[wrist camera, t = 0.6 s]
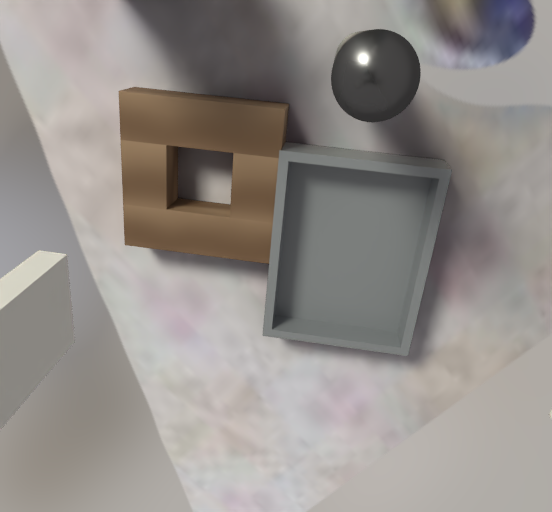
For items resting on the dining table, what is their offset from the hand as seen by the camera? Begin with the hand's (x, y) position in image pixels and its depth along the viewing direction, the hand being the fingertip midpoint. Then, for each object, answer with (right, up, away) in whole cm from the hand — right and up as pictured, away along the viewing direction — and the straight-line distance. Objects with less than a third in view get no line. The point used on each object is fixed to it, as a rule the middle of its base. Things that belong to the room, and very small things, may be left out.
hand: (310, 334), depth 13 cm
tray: (+4, +3, +22) cm, 22 cm away
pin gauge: (+4, +14, +17) cm, 22 cm away
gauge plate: (-5, +8, +21) cm, 23 cm away
